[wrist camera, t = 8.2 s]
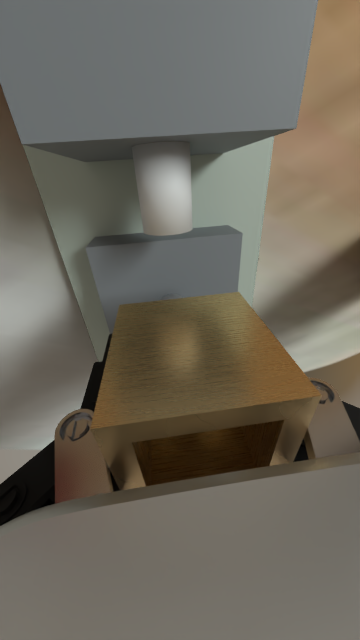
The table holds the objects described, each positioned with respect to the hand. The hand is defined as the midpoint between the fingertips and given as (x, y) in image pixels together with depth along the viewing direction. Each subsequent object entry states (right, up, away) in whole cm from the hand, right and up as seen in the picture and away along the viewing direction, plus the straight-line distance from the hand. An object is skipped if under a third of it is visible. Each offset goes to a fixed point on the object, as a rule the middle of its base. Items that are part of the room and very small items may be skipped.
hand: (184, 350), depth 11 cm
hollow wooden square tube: (0, 0, 0) cm, 1 cm away
